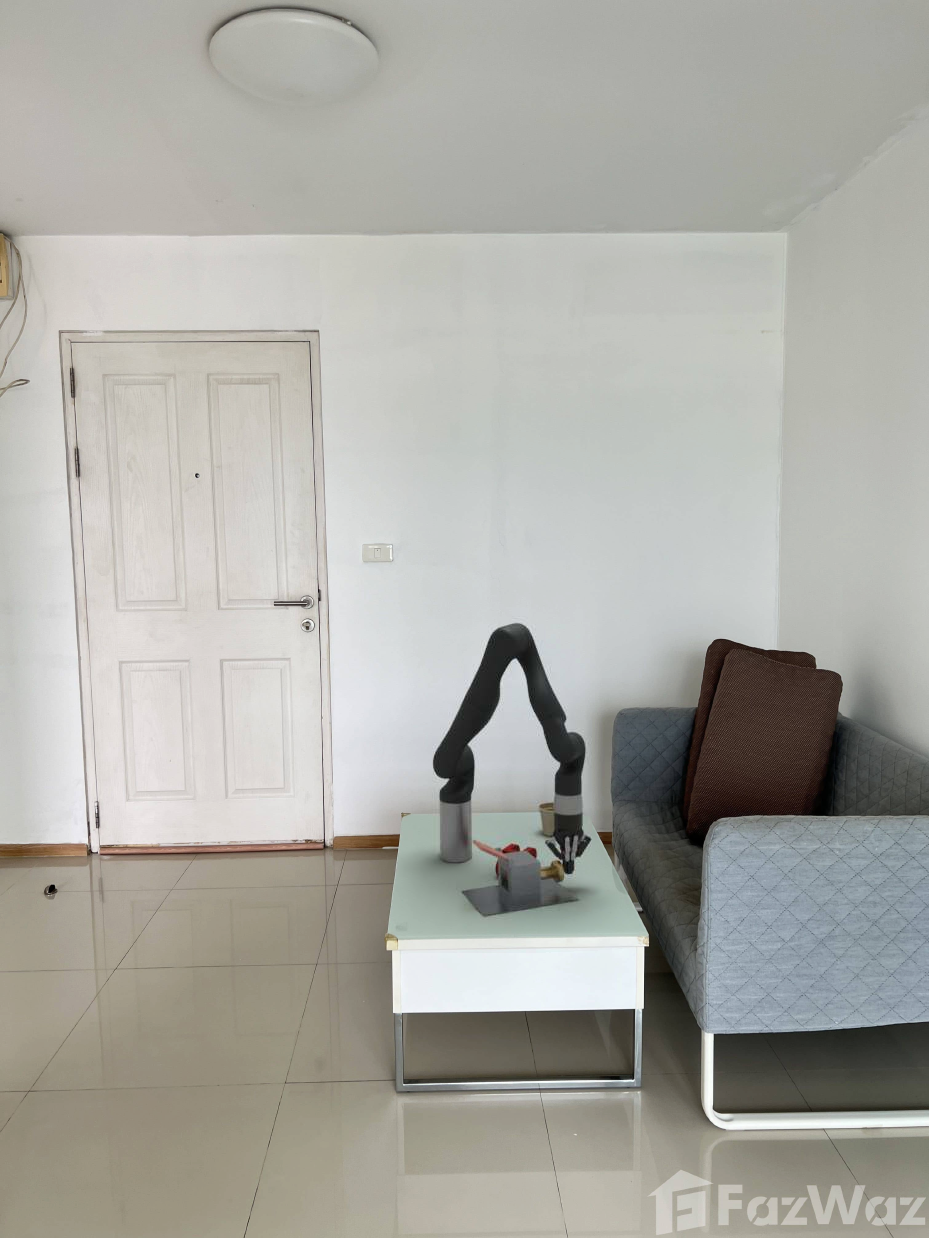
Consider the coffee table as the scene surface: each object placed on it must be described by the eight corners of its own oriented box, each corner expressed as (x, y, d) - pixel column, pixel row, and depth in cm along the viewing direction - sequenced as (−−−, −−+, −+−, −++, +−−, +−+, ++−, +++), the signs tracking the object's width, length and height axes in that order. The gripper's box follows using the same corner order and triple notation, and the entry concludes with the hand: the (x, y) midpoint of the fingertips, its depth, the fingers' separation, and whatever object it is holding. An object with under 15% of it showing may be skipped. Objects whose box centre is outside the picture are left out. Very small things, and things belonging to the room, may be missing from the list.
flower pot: (573, 831, 273) (573, 804, 272) (560, 840, 265) (560, 812, 264) (546, 826, 278) (546, 800, 277) (532, 835, 270) (532, 808, 269)
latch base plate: (461, 891, 227) (460, 848, 226) (551, 877, 236) (551, 835, 235) (483, 916, 212) (483, 869, 211) (578, 900, 221) (578, 855, 220)
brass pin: (504, 885, 226) (504, 864, 225) (554, 877, 230) (554, 856, 230) (513, 893, 220) (513, 872, 220) (564, 885, 225) (564, 864, 225)
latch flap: (471, 841, 222) (473, 838, 222) (499, 854, 225) (501, 851, 225) (481, 851, 215) (483, 847, 216) (510, 864, 219) (512, 860, 219)
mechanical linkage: (514, 858, 251) (514, 841, 251) (536, 862, 248) (536, 845, 247) (487, 876, 238) (487, 859, 237) (510, 881, 234) (510, 863, 234)
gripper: (583, 802, 233) (583, 864, 235) (539, 808, 228) (539, 871, 230) (597, 810, 226) (597, 874, 228) (551, 816, 221) (552, 882, 223)
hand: (568, 873), depth 229 cm, fingers closed
